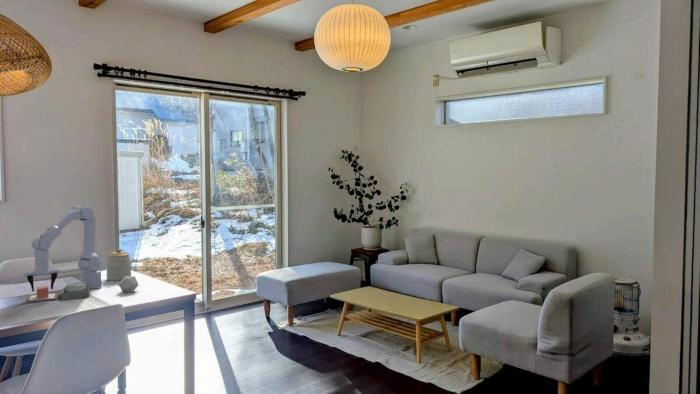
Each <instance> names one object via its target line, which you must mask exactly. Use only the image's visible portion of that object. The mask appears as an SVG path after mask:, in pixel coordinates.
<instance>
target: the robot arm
mask: <svg viewBox="0 0 700 394" xmlns="http://www.w3.org/2000/svg"><path fill="white" fill-rule="evenodd" d="M94 213H95V211H94V209H93V208H91V207H90V206H88V205H87V206H83V205H73V206H72V207H71V208H70V209H68V211H67V213H66V214H65V215H64V216H63V217H62V218H61V219H60V220H59V221H58V222H57V223H56V224H55V225H51V226H48V227H47V229H46V230H45V231H44V232H43V233H42V234H40V235H39V236H38V237H35V238H34V239H33V241H32V243H31V244H30V245H31V247H32V248H33V251H34V271H24V272H23V277H24V278H26V279H27V281H28V283H29V284H30V288H31V292H35V288H34V287H35V286H34V277H38V276H48V275H50V290H54V285H55V283H56V279H57V277H58V275H60V274H61V270H60V269H59V268H58V269H50V258H49V257H50V255H49V254H50V253H49V249H50V248H51V247H52V245H53V244H52V243H53V242H54V241H55V240H56V239H57V238H58V237H59V236H60V235H61V234H62V230H63V229H64V228H66V227H67V226H68V225H70V223H73V221H77V220H79V221H80V222H81V223H83V250H82V251H83V252H82V254H80V256H79V261H78V263H77V266H78V269H80V272H81V283H85V285H86V286H89V290H92V289H100V288H101V289H102V283H103V281H102V271H101V270H99V268H100V267H101V263H100V262H101V261H100V257H99V256H98V254H97V253H96V231H97V230H96V229H97V228H96V226H97V225H96V224H97V219H96V216H95V214H94Z"/></svg>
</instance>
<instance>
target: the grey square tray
mask: <svg viewBox="0 0 700 394" xmlns="http://www.w3.org/2000/svg"><path fill="white" fill-rule="evenodd" d="M89 297H90V289H89V286H86V291H77V292H66V293H65V287H62V288H61V292H60V300H72V299H80V298H89Z"/></svg>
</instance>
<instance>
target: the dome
mask: <svg viewBox="0 0 700 394" xmlns="http://www.w3.org/2000/svg"><path fill="white" fill-rule="evenodd" d="M64 288H65V293H66V292H77V291H86V285H85V283H82V282H72V283H67V284H66V285H65V287H64Z"/></svg>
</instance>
